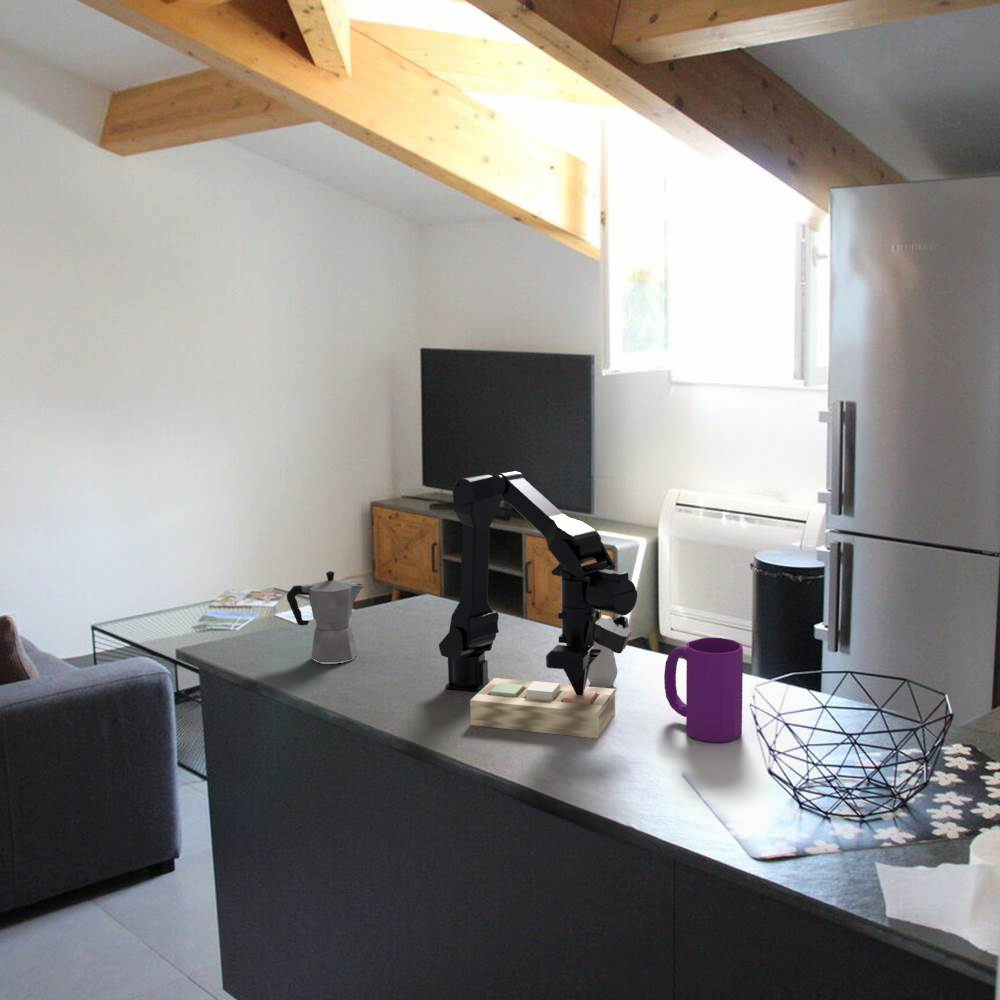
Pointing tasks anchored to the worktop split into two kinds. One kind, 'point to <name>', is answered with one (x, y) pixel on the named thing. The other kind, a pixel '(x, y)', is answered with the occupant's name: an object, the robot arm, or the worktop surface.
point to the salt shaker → (603, 666)
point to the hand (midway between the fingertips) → (579, 694)
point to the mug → (709, 688)
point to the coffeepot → (329, 617)
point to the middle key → (543, 691)
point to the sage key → (507, 690)
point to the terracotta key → (580, 697)
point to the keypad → (543, 711)
